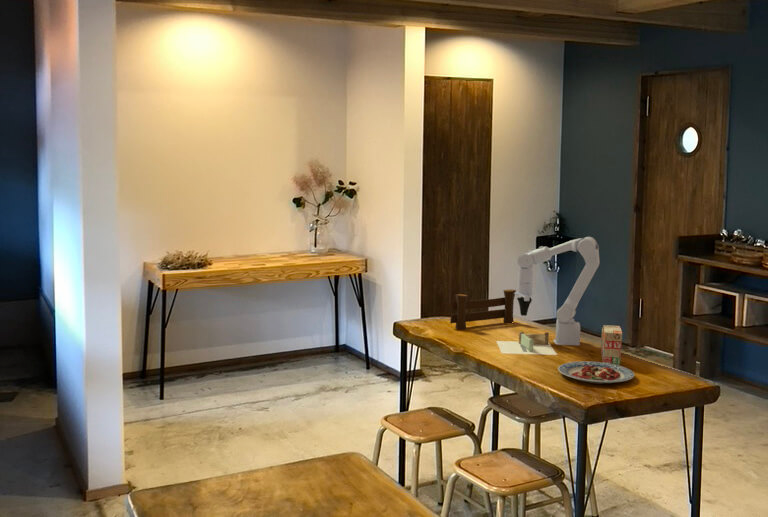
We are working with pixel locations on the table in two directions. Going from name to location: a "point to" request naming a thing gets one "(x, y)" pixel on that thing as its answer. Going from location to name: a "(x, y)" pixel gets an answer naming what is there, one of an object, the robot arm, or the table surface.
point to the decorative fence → (464, 317)
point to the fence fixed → (536, 338)
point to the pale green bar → (527, 342)
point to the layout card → (517, 348)
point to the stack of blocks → (611, 344)
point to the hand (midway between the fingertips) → (523, 315)
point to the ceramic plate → (596, 372)
